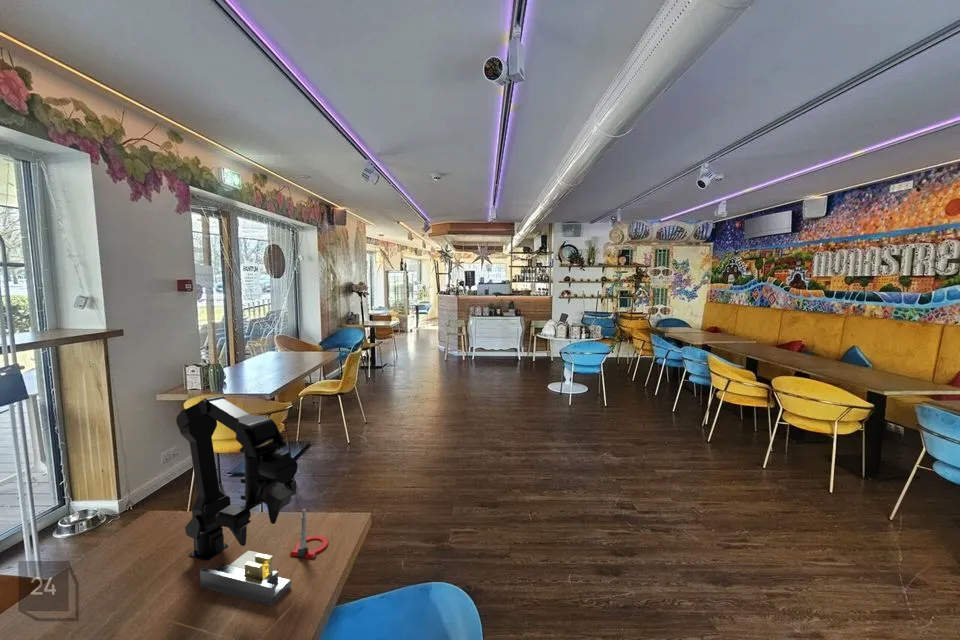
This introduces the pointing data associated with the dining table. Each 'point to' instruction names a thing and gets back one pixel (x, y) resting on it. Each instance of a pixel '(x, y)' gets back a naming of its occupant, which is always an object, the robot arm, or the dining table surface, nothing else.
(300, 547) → the tow hook
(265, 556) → the bracket
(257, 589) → the rack flange
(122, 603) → the dining table surface
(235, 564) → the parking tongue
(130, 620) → the dining table surface
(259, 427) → the robot arm
